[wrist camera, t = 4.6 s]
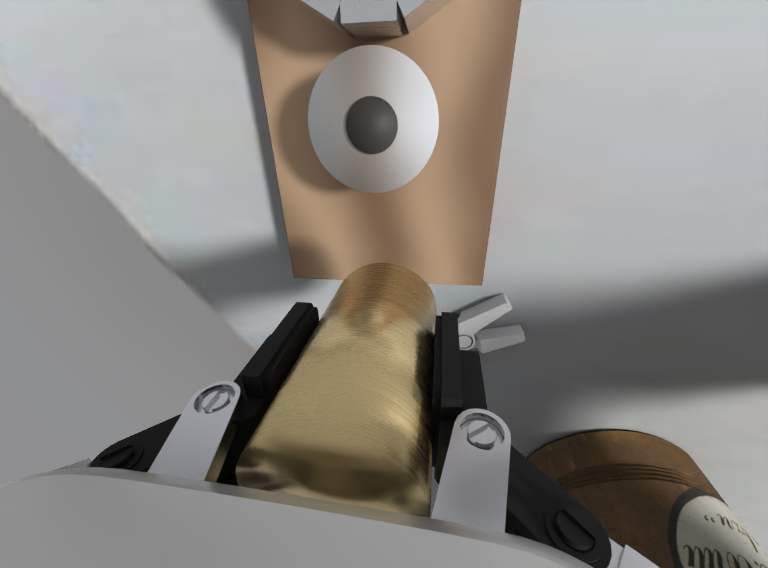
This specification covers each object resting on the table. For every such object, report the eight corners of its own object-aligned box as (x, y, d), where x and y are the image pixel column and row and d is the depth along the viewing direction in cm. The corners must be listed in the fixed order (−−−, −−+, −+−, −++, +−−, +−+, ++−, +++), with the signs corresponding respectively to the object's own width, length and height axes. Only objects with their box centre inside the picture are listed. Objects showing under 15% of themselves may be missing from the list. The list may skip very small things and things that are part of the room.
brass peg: (439, 265, 13) (435, 450, 6) (433, 352, 15) (425, 567, 8) (332, 260, 13) (213, 421, 6) (340, 344, 16) (257, 535, 9)
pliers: (297, 343, 24) (489, 260, 19) (304, 331, 26) (485, 250, 21) (365, 427, 28) (543, 374, 23) (368, 412, 29) (537, 359, 24)
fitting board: (556, -315, 11) (630, -568, 7) (478, 274, 21) (490, 313, 17) (221, -258, 12) (119, -439, 8) (302, 268, 23) (273, 302, 19)
